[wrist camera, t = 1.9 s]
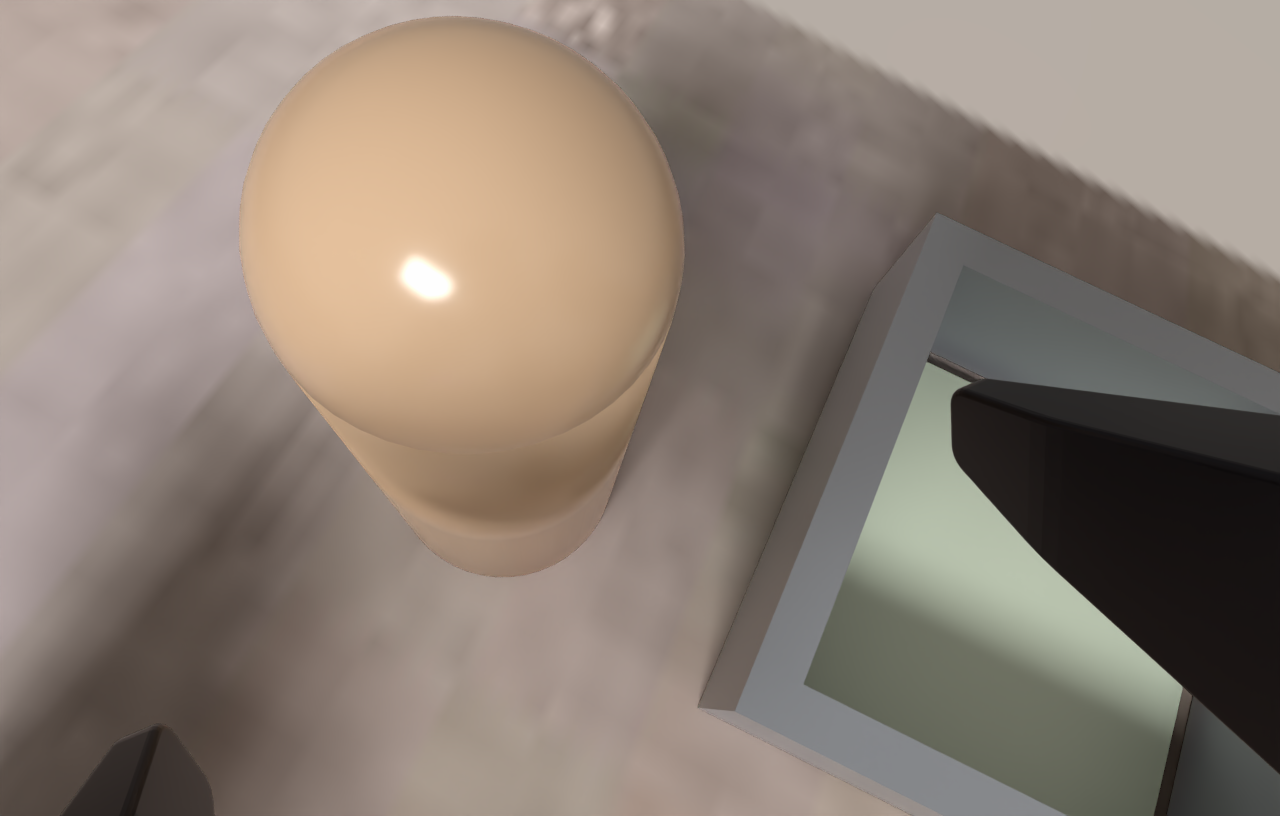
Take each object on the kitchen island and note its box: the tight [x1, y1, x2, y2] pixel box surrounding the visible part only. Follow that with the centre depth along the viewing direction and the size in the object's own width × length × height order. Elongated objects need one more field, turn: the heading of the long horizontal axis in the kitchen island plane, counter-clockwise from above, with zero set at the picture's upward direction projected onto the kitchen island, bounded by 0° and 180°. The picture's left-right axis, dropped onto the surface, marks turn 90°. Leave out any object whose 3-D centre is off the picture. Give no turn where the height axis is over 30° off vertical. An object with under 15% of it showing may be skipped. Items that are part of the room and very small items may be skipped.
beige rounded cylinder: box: [239, 16, 685, 577], centre depth 14 cm, size 5×5×14 cm
